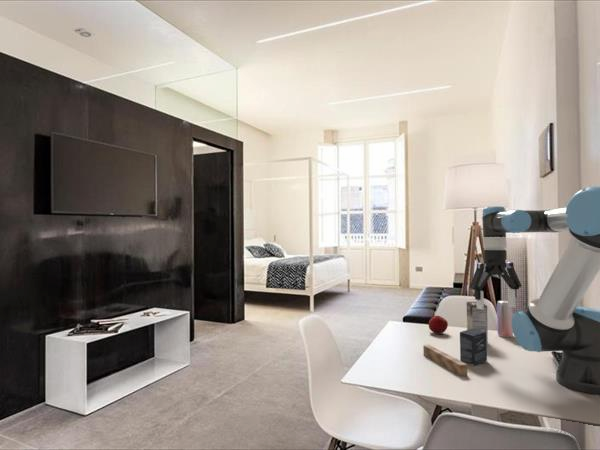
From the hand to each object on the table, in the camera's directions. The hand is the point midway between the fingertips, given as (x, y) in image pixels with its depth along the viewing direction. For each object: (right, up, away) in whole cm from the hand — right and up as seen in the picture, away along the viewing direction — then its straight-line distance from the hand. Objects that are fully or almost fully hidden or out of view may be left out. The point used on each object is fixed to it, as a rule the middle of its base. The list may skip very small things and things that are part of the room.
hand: (496, 308), depth 138 cm
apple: (-9, -19, +35) cm, 40 cm away
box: (-9, -19, -3) cm, 21 cm away
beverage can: (+19, -19, +30) cm, 40 cm away
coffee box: (+3, -19, +21) cm, 28 cm away
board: (-21, -19, -5) cm, 29 cm away
